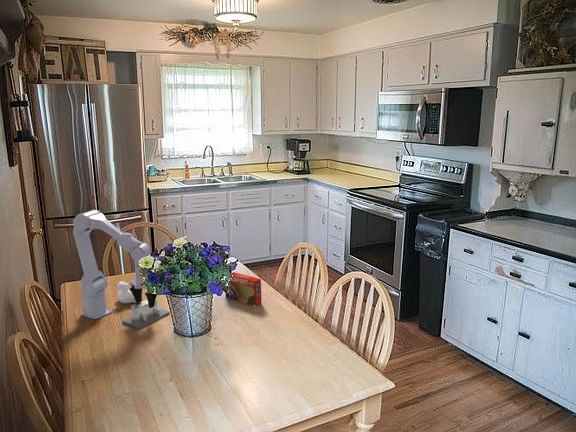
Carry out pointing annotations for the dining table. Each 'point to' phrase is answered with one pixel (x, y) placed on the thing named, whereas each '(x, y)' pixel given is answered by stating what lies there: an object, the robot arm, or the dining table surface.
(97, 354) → the dining table surface
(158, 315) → the pin tray
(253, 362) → the dining table surface
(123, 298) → the bust
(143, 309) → the block
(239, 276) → the toy box
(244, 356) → the dining table surface
